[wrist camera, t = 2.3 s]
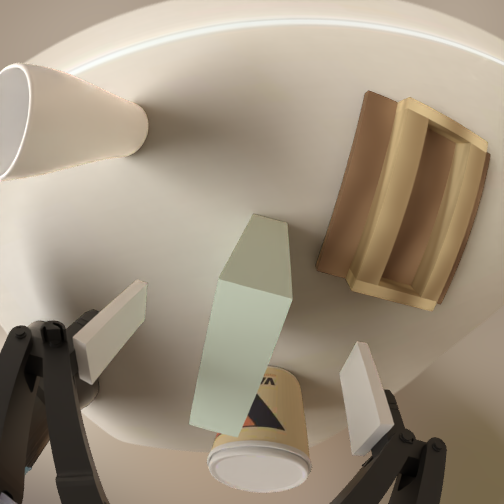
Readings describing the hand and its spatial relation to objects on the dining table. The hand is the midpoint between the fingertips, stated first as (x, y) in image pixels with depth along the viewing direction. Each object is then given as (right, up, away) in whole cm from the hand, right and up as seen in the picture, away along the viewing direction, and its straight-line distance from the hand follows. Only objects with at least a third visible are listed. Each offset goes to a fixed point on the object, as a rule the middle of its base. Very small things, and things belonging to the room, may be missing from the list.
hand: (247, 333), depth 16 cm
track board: (+15, +9, +6) cm, 18 cm away
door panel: (+1, +3, +10) cm, 10 cm away
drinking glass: (-11, +16, +7) cm, 21 cm away
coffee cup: (+2, -11, +14) cm, 18 cm away
